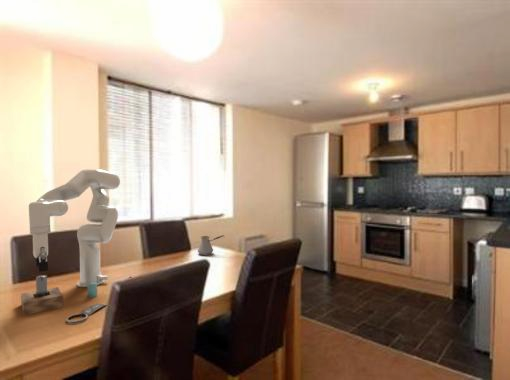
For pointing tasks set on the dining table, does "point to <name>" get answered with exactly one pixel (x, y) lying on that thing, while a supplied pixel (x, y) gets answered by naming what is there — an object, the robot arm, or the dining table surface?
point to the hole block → (41, 301)
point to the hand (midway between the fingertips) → (42, 268)
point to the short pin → (92, 289)
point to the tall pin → (41, 286)
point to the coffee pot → (206, 245)
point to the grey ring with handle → (84, 313)
